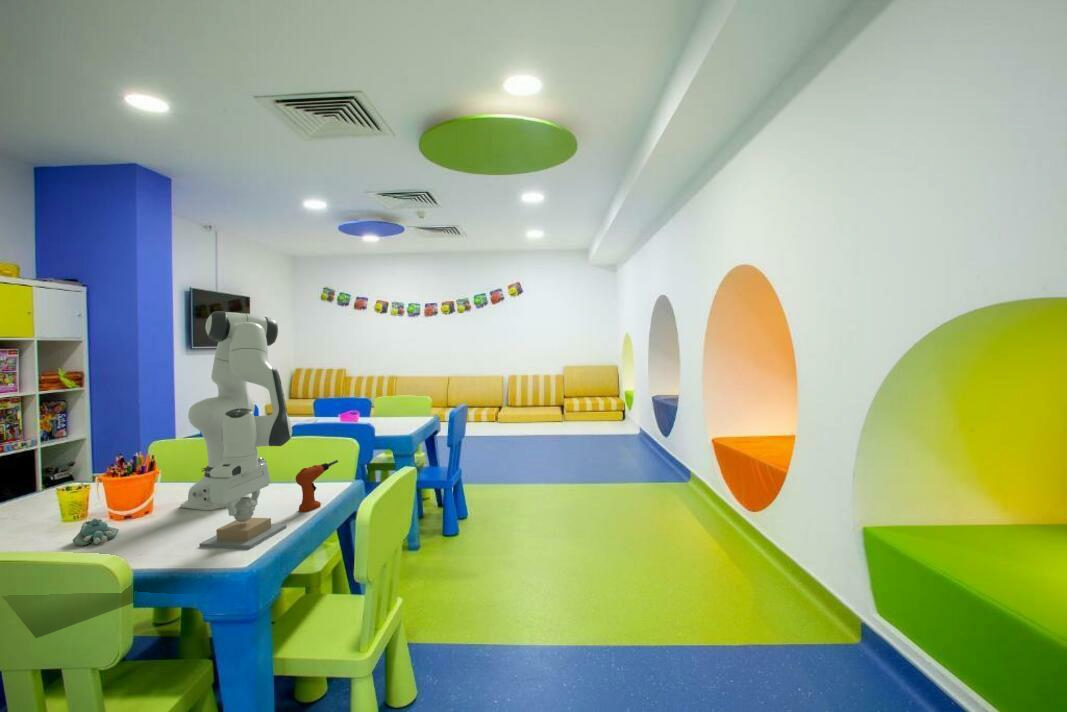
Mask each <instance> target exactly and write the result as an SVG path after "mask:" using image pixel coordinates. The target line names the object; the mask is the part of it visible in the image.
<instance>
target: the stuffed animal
mask: <svg viewBox="0 0 1067 712" xmlns="http://www.w3.org/2000/svg"><path fill="white" fill-rule="evenodd" d="M80 528H81V529H80V530H79V532H78V533H77V534H76V535H75V537H74V538H73V539H72V542H73V543H74V544H75V545H77V546H80V545H84V546H88V545H90V544H89V543H91V541H92V542H93V543H94V545H98V544H100V543H101V542H102V543H106V542H107V541H108V540H112V539H114V538H115V537H116V536H117V535H118V533H119V530H120V529H118V528H116V527H113V526H112V527H111V526H109V525H108V522H107V520H104V519H102V518H93V519H91V520H87V521H85V522H83V523H82V525H81V527H80ZM113 537H114V538H113ZM92 539H93V540H92ZM87 544H88V545H87Z"/></svg>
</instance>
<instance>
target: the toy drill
mask: <svg viewBox="0 0 1067 712" xmlns="http://www.w3.org/2000/svg"><path fill="white" fill-rule="evenodd" d="M337 463H339V460H338V459H336V460H334V461H332V462H328V463H327V462H324V463H322V464H314V465H311V466H309V467H303V468H302V469H300V471H298V472H297V474H296V476H295V482H296V483H297V485H299V486H300V487H301V491H302V492H301V493H302V498H301V499H302V500H301V504H299V506H298V512H299V511H301V512H300V513H305V512H306V511H307V512H311V511H313V510H317V509H319V508H320V507H321V505H322V503H321V502H320V501H319V500H316V498H315V491H316V490H317V486H316V485H315V484H314V483H315V481H316V480H317V479H318V478H319V477H320V476H322V474H324V473H325V472H326V471H327V470H329V468H330V467H331V466H334V465H335V464H337ZM307 512H306V513H307Z"/></svg>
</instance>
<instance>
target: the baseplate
mask: <svg viewBox="0 0 1067 712" xmlns="http://www.w3.org/2000/svg"><path fill="white" fill-rule="evenodd" d="M271 520H272V517H251V518H250V519H249V520H248V521H245V522H239V521H237V520H236V519H235V520H233V521H231V522H229V523H227V524H225V525H223V526H221V527H219V528H217V529H216V535H213V536H212V537H210V538H208V539H206V540H204V541H202V542H200V543H199V548H215V549H216V548H217V549H219V548H220V549H238V548H240V550H241V548H243V549H244V550H247V549H248V550H251V549H253V548H254V547H256V546H257V544H258V545H260V544H262V541H263V542H264V540H265V541H266V540H268V539H270V538H272V537H273V536H275V535H277V534H278V533H280V532H282V531H283V530H285V529H287V528H286V527H287V524H285V523H284V524H281V523H277V524H276V523H272V521H271ZM269 537H270V538H269ZM255 545H256V546H255ZM252 547H253V548H252ZM250 548H251V549H250Z"/></svg>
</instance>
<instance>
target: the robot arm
mask: <svg viewBox="0 0 1067 712" xmlns="http://www.w3.org/2000/svg"><path fill="white" fill-rule="evenodd" d="M205 332H206V336H207V337H208V338H209V339H210V340H211V341H214V342H217V346H216V349H215V354H214V358H213V365H212V370H211V374H210V375H211V377H210V378H211V380H212V382H213V383H214V384H216V386H217V389H218V393H217V394H218V395H217V396H215V397H208V398H204V399H202V400H200V401H197V402H195V403H193V404H192V405H191V406H190V407H189V410H188V417H187V418H188V421H189V423H190V424H191V426H192V427H194V428H196V429H197V430H198V431H199V432H200V434H201V436H202V438H203V439H204V441H205V446H206V453H207V466H205V467H203V468H201V471H200V472H201V473H203V472H204V474H203V477H201V478H200V479H199V480H198V481H196V483H194V484H193V485H192V486H191V487H190V488H189V490H188V492H187V493H188V494H187V500H185V501H182V503H181V504H180V505H179V506H180V508H185V509H194V510H200V511H208V512H209V511H213V510H217V509H221V508H222V509H223V508H226V509H227V510H228V516H230V517H231V516H232V517H234V515H236V514H238V512H237V511H238V508H235V507H234V505H235V504H236V503H237V502H238V501H239V500H240V498H242V497H251V498H253V499H255V501H256V506H257V505H258V499H259V496H260V494H261V490H263V489H264V488H266V487H269V485H270V483H271V477H270V470H269V467H268V464H267V460H266V459H265V458H264V457H259V451H258V447H259V448H260V447H282V446H285V444H286V443H287V442H289V441H290V440H291V439H292V434H293V426H292V423H291V420H290V417H289V414H288V410H287V405H286V399H285V394H284V390H283V385H282V381H281V377H280V374H279V371H278V369H277V368H276V367H274V366H272V365H271V364H270V362H269V358H268V357H269V355H268V350H269V349H268V347H270V346H272V345H273V344H274V343H276V340H277V338H278V336H279V326H278V323H277V322H276V320H275V319H273V318H271V317H267V316H260V315H257V314H252V313H243V312H241V313H240V312H234V311H233V312H230V311H228V312H227V311H225V310H220V311H219V310H218V311H213V312H211V313H210V314H209V315H208V318H206V321H205ZM248 383H249V384H250V383H251V384H254V385H258V386H260V387H263V388H265V389H267V390H268V392H269V399H270V403H271V404H270V405H271V409H272V413H271V414H269V415H257V416H256V415H254V414H255V408H256V407H255V401H254V400H253V399H252V397H250V395H249V392H248ZM250 494H251V495H250Z"/></svg>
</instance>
